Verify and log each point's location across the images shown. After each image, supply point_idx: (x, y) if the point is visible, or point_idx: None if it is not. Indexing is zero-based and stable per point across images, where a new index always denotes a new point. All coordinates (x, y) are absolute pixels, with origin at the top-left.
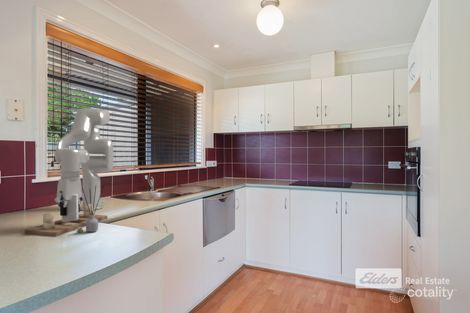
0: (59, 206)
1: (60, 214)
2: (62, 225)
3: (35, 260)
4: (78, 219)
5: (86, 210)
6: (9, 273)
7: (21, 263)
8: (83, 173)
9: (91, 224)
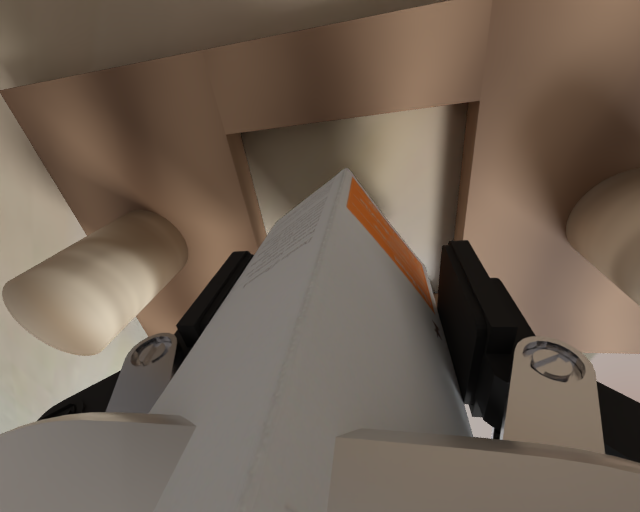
0: (146, 350)
1: (232, 259)
2: None
3: None
4: (464, 223)
5: (624, 285)
6: (5, 419)
7: (25, 406)
8: None
9: None
